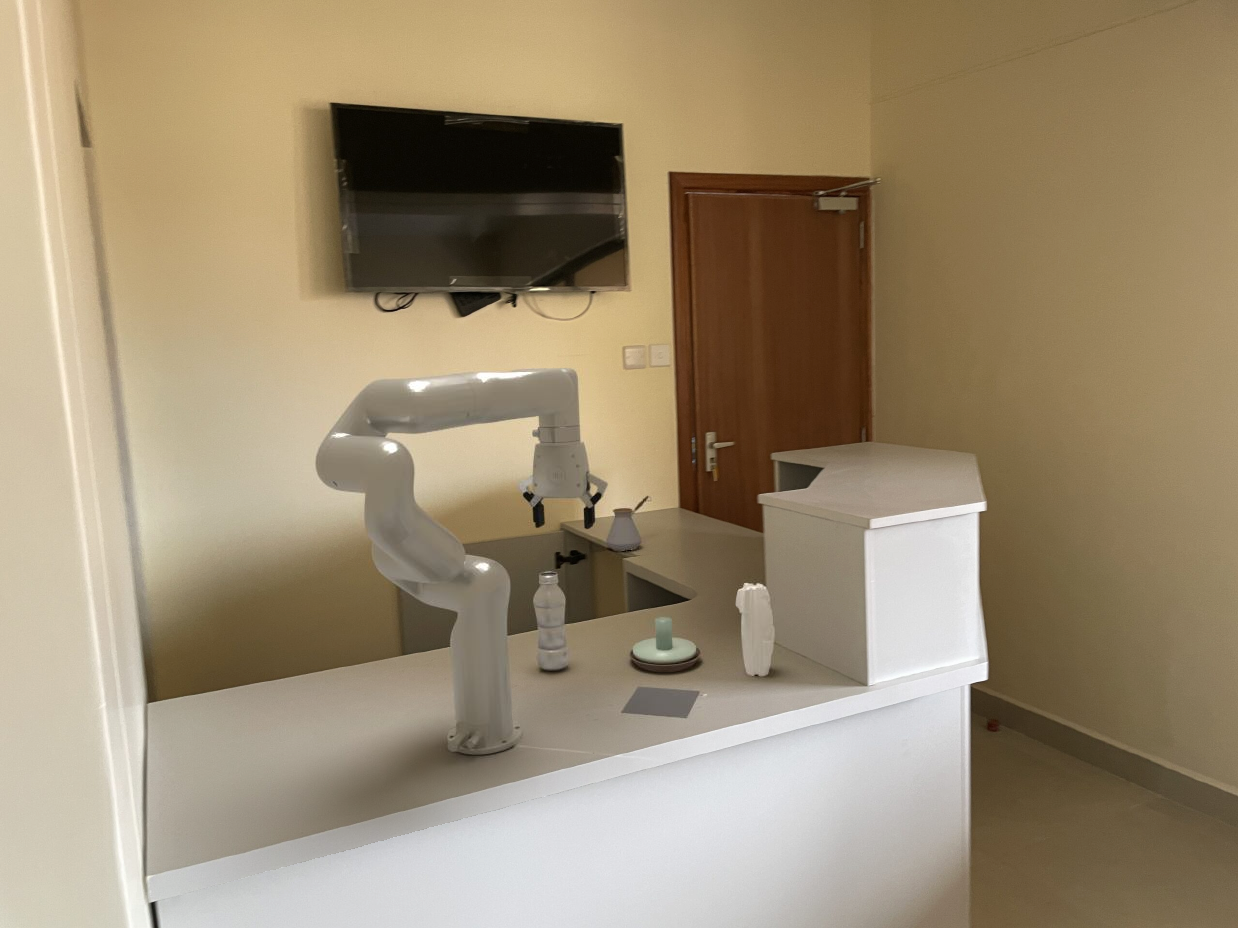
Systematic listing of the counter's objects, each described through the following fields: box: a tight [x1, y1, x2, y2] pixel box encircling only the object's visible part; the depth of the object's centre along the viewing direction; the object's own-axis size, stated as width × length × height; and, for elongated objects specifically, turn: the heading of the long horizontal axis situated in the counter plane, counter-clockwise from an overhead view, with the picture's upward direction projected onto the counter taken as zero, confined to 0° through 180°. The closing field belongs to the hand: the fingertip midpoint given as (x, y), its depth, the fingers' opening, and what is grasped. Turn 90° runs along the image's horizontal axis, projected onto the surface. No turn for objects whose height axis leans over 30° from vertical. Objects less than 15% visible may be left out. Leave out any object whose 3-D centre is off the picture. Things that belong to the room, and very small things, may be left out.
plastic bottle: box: [533, 571, 570, 671], centre depth 179 cm, size 6×7×20 cm
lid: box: [632, 616, 697, 665], centre depth 180 cm, size 13×13×7 cm
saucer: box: [628, 646, 702, 673], centre depth 181 cm, size 15×15×3 cm
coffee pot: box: [606, 495, 652, 553], centre depth 286 cm, size 21×12×15 cm, turn 145°
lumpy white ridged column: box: [735, 582, 776, 677], centre depth 172 cm, size 7×18×7 cm
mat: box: [620, 686, 701, 719], centre depth 161 cm, size 12×12×1 cm
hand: (564, 526), depth 164 cm, fingers open, 9 cm apart
